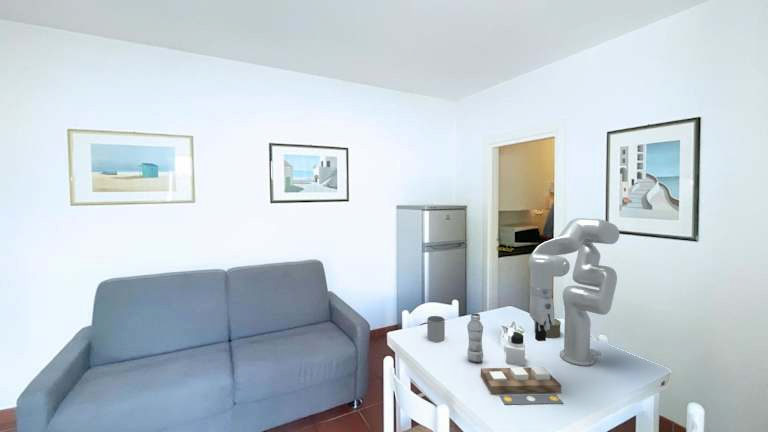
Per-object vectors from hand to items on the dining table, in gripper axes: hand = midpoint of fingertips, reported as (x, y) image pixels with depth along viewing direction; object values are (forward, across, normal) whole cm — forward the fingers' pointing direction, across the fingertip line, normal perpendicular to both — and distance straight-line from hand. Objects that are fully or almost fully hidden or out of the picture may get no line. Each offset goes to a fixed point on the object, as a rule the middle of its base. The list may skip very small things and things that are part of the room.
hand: (540, 340), depth 119 cm
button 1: (+16, 0, +16) cm, 23 cm away
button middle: (+15, 0, +8) cm, 17 cm away
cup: (+17, +40, +32) cm, 54 cm away
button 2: (+15, 0, 0) cm, 15 cm away
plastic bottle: (+17, +18, +19) cm, 31 cm away
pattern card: (+17, -10, +8) cm, 21 cm away
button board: (+17, 0, +8) cm, 18 cm away
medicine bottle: (+17, +17, +2) cm, 24 cm away
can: (+17, +44, -26) cm, 54 cm away
